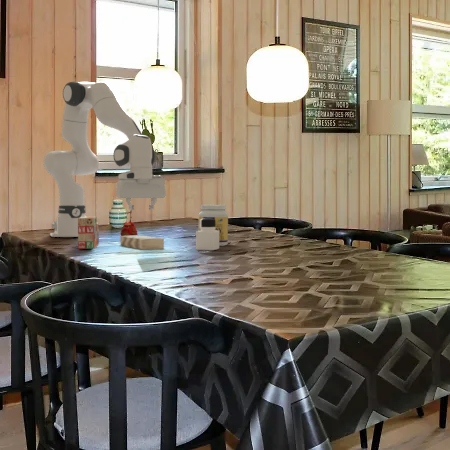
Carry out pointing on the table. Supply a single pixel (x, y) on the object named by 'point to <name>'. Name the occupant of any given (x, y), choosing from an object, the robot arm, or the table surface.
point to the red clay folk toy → (129, 228)
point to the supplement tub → (217, 220)
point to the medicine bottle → (207, 235)
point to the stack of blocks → (88, 233)
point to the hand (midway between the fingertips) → (141, 209)
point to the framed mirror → (142, 242)
